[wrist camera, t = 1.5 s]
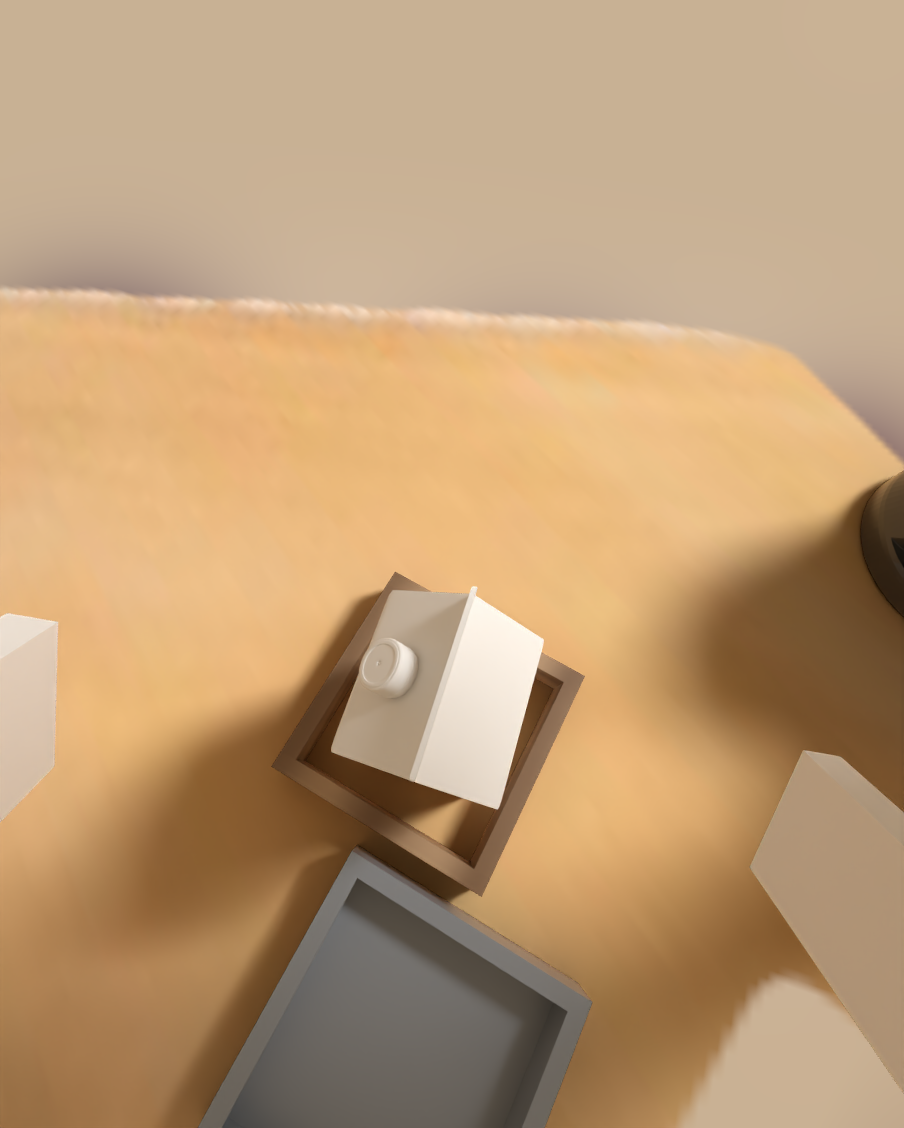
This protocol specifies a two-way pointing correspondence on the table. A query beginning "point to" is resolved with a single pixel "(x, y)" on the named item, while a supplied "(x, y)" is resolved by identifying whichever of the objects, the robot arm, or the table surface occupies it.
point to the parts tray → (403, 1020)
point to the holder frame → (386, 823)
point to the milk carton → (442, 694)
